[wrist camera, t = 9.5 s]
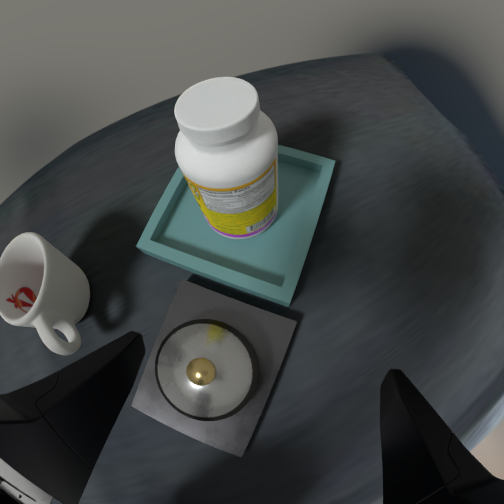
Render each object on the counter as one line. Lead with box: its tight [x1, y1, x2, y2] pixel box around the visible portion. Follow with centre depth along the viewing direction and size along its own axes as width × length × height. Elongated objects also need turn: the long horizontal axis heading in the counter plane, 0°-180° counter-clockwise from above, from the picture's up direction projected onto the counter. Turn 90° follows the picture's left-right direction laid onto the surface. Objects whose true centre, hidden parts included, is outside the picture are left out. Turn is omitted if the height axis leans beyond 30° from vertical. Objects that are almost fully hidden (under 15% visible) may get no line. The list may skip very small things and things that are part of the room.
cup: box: [0, 232, 90, 355], centre depth 21 cm, size 11×8×8 cm
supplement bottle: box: [174, 77, 278, 239], centre depth 20 cm, size 7×7×13 cm
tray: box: [136, 145, 335, 307], centre depth 26 cm, size 14×14×2 cm
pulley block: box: [131, 279, 297, 458], centre depth 20 cm, size 12×10×4 cm
